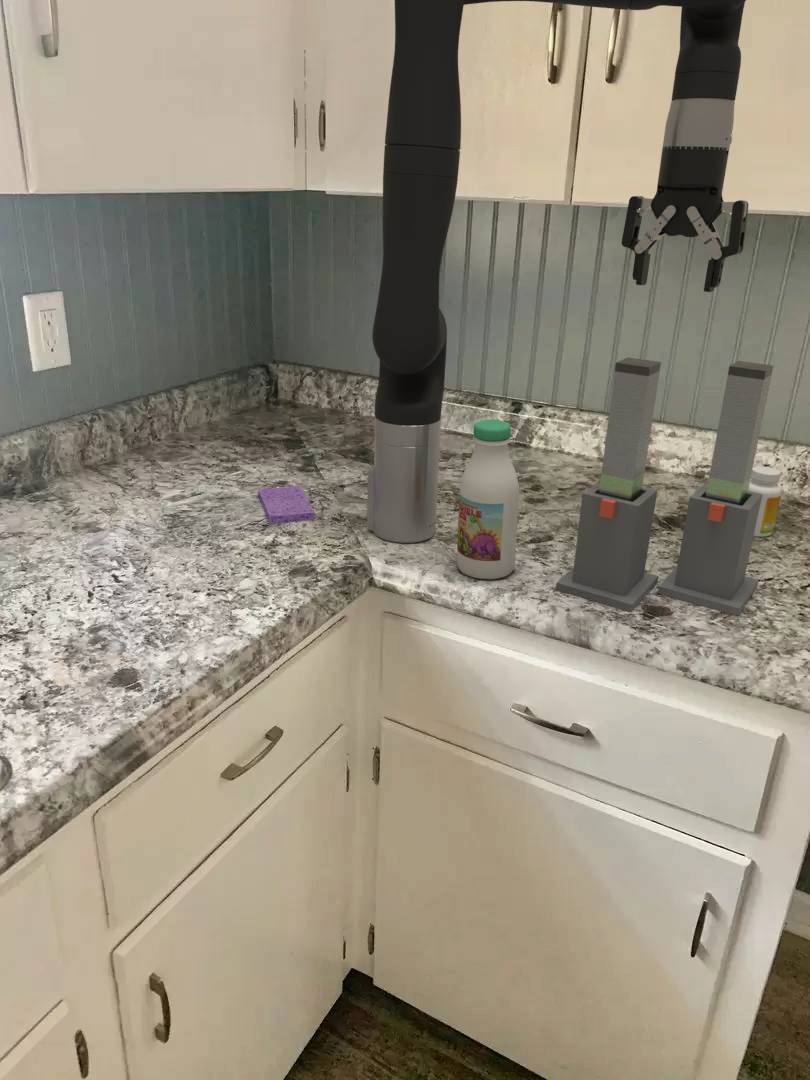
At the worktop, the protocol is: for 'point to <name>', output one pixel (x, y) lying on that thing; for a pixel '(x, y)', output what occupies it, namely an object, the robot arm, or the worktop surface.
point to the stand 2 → (715, 554)
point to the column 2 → (738, 431)
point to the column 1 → (629, 428)
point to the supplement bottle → (766, 498)
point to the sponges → (286, 504)
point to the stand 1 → (612, 550)
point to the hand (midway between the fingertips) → (674, 288)
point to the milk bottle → (488, 505)
